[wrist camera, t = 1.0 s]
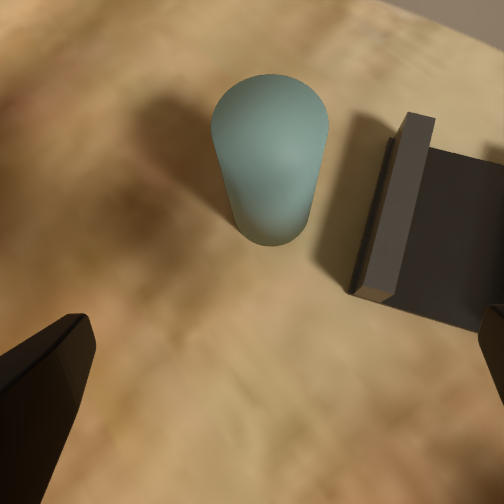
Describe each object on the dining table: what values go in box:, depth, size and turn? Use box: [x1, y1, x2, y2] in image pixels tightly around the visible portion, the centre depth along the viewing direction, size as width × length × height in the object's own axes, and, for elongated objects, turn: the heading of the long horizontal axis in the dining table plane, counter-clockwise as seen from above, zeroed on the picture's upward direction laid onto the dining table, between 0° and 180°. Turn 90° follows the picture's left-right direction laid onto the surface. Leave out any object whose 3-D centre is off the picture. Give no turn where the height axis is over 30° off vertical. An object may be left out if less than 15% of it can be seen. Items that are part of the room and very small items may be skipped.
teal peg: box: [211, 74, 329, 246], centre depth 20 cm, size 4×4×9 cm
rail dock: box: [348, 112, 504, 333], centre depth 22 cm, size 10×10×3 cm
